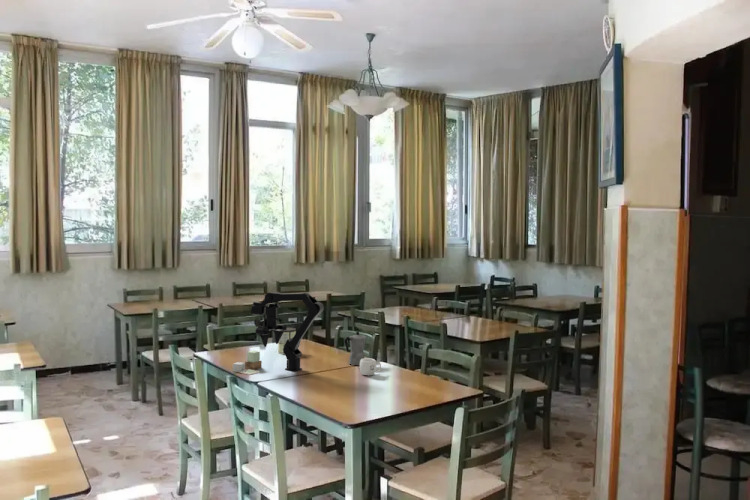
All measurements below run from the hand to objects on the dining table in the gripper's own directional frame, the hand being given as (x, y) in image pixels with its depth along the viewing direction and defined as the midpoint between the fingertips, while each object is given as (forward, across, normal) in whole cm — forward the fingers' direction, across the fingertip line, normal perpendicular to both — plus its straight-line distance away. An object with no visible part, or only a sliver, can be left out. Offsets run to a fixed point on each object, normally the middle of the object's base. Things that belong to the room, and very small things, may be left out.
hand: (271, 345), depth 338 cm
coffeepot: (+13, -35, +30) cm, 48 cm away
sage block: (+8, +7, -6) cm, 12 cm away
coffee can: (+12, -34, -18) cm, 41 cm away
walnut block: (+12, +7, -6) cm, 15 cm away
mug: (+13, -21, +49) cm, 55 cm away
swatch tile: (+12, +15, -1) cm, 19 cm away
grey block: (+12, +16, -8) cm, 21 cm away
